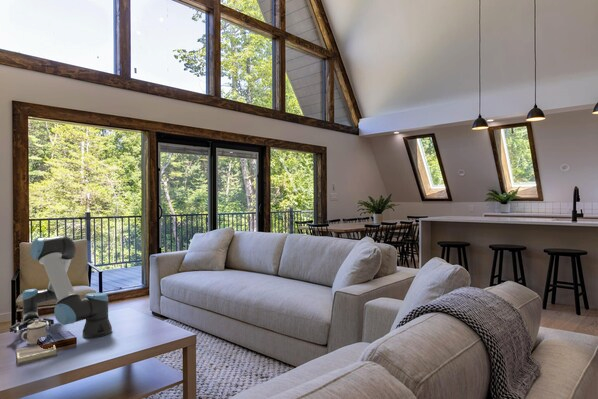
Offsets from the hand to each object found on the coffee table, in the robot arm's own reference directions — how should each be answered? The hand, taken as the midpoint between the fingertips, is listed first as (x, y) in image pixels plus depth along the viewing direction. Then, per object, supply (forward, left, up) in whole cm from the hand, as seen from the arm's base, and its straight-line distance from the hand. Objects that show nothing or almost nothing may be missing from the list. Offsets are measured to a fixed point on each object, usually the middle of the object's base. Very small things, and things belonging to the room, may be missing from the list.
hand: (33, 329), depth 207 cm
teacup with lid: (0, 0, -7) cm, 7 cm away
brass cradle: (-16, +18, -6) cm, 25 cm away
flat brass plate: (-12, +14, -7) cm, 20 cm away
